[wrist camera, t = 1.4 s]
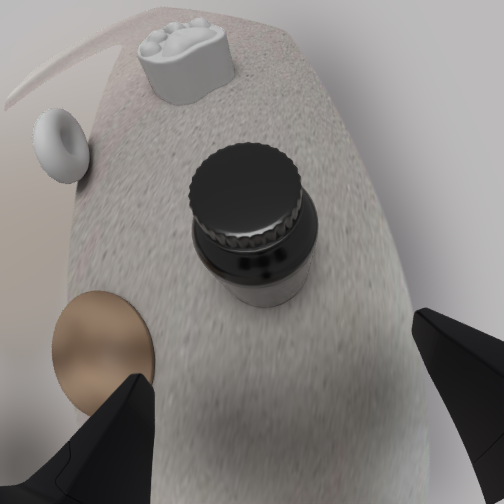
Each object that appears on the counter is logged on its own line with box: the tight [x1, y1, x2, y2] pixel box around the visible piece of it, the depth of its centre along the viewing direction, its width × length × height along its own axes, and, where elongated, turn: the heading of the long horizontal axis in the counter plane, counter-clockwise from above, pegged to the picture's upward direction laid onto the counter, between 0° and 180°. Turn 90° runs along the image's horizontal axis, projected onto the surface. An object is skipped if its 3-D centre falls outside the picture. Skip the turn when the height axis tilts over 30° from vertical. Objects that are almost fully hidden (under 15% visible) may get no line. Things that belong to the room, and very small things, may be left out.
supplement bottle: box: [188, 142, 318, 307], centre depth 17 cm, size 7×7×12 cm
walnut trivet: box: [52, 291, 155, 416], centre depth 21 cm, size 12×12×1 cm
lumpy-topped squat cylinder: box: [137, 17, 235, 105], centre depth 29 cm, size 10×13×9 cm
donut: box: [33, 108, 90, 184], centre depth 25 cm, size 10×4×10 cm, turn 19°
